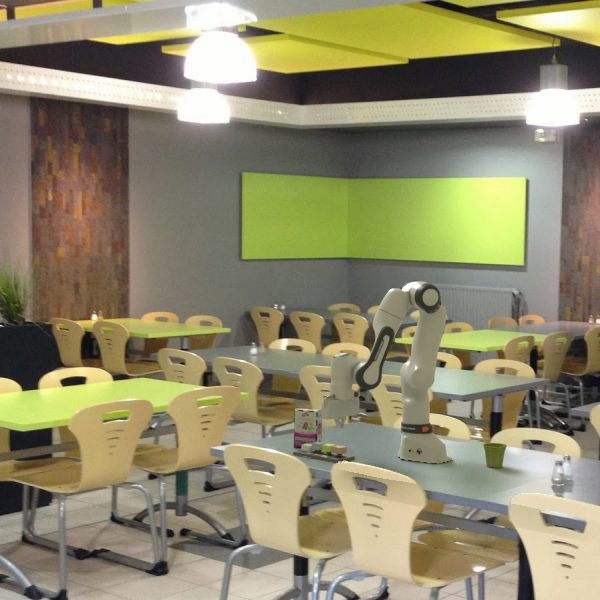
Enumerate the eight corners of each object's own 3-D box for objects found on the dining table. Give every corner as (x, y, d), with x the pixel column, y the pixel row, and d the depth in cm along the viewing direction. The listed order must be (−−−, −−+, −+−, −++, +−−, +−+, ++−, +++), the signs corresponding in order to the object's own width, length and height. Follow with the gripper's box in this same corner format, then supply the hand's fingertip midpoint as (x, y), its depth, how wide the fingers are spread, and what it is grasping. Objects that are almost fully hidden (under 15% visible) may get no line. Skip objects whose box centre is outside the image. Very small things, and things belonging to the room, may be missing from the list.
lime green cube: (335, 453, 451) (336, 444, 450) (329, 454, 448) (329, 446, 447) (328, 452, 453) (328, 443, 453) (321, 453, 450) (322, 444, 450)
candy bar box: (322, 448, 471) (323, 409, 470) (316, 450, 466) (317, 411, 465) (298, 445, 476) (299, 407, 475) (293, 447, 471) (293, 408, 470)
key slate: (325, 451, 454) (325, 443, 454) (319, 452, 451) (319, 444, 451) (317, 450, 457) (318, 441, 457) (311, 451, 454) (311, 442, 454)
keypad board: (354, 459, 449) (354, 455, 449) (337, 462, 441) (337, 459, 440) (310, 451, 464) (310, 447, 464) (292, 454, 456) (293, 450, 456)
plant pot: (477, 464, 442) (478, 443, 442) (498, 463, 446) (499, 442, 445) (489, 469, 434) (490, 447, 433) (510, 468, 437) (511, 446, 436)
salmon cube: (346, 455, 447) (346, 446, 447) (340, 456, 444) (340, 447, 444) (338, 453, 450) (339, 445, 449) (332, 455, 447) (332, 446, 446)
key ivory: (314, 453, 458) (315, 444, 458) (308, 454, 455) (308, 445, 455) (307, 451, 460) (307, 443, 460) (301, 453, 457) (301, 444, 457)
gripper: (330, 397, 436) (329, 432, 436) (362, 392, 451) (361, 426, 452) (318, 395, 440) (317, 430, 440) (350, 390, 455) (349, 424, 456)
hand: (339, 428), depth 446 cm, fingers closed
